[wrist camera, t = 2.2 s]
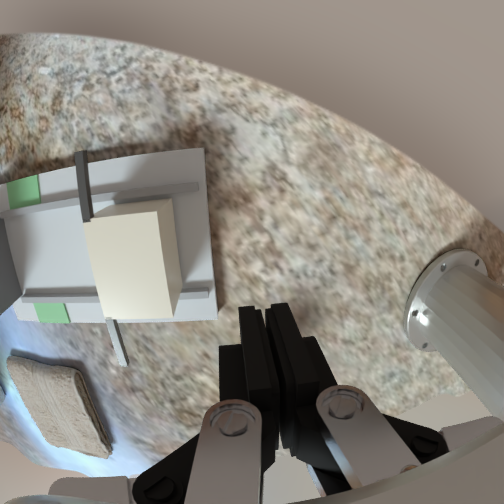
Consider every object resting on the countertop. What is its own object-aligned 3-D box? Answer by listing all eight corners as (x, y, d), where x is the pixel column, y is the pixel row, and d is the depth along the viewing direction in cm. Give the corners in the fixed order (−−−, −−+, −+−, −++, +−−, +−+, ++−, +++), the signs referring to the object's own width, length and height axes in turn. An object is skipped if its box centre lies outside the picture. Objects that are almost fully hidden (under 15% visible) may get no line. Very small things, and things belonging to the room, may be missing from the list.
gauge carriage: (167, 141, 20) (150, 138, 15) (190, 329, 25) (183, 366, 20) (104, 150, 20) (74, 152, 15) (135, 330, 25) (120, 366, 20)
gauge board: (204, 147, 22) (193, 145, 15) (218, 312, 26) (216, 364, 19) (-7, 187, 20) (-56, 201, 14) (23, 314, 25) (-11, 350, 18)
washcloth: (54, 436, 33) (48, 449, 30) (8, 349, 27) (-3, 362, 24) (118, 450, 34) (114, 466, 31) (81, 363, 28) (71, 380, 25)
